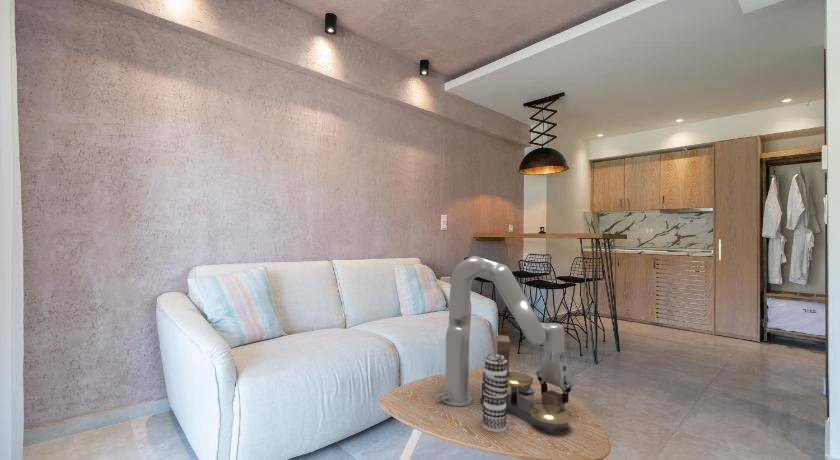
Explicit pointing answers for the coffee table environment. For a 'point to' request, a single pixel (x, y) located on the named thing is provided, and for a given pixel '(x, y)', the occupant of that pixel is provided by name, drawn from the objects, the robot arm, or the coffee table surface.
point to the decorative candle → (495, 393)
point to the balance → (534, 407)
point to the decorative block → (504, 348)
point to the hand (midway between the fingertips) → (554, 398)
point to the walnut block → (552, 398)
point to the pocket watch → (525, 388)
